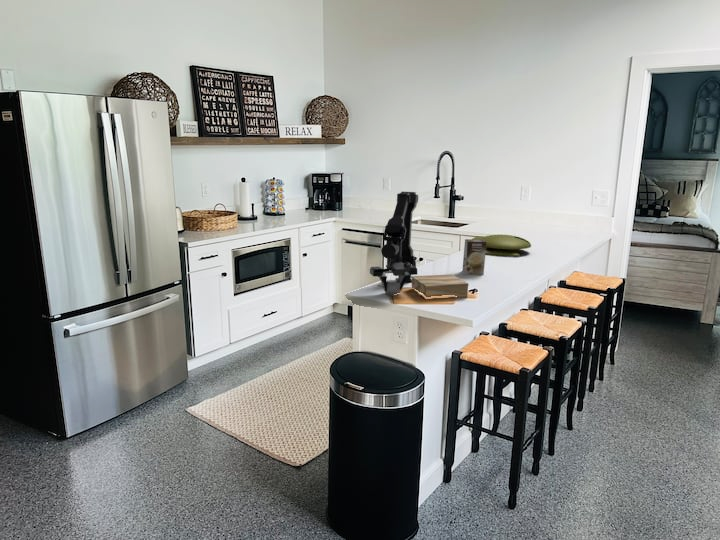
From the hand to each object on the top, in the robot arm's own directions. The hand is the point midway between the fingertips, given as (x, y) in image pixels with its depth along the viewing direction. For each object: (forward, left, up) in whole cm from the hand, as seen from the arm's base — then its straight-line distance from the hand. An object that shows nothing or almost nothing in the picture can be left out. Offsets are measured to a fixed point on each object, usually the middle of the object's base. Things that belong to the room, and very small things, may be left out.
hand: (392, 291), depth 217 cm
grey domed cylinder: (0, 0, -1) cm, 1 cm away
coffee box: (-27, +50, -1) cm, 57 cm away
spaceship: (-76, +92, -2) cm, 119 cm away
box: (+3, +19, -1) cm, 19 cm away
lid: (+3, +19, +4) cm, 20 cm away
